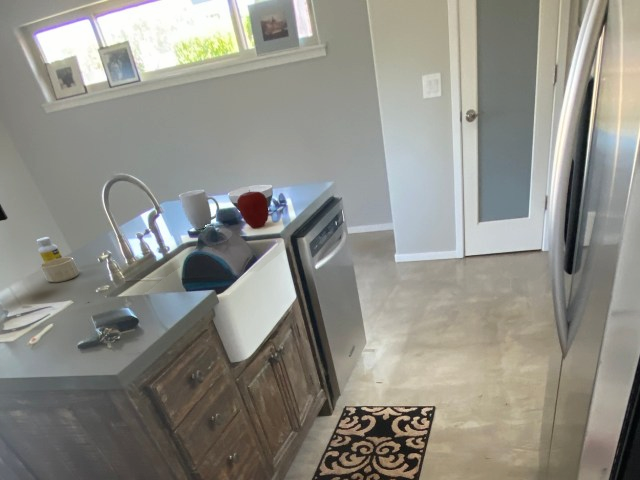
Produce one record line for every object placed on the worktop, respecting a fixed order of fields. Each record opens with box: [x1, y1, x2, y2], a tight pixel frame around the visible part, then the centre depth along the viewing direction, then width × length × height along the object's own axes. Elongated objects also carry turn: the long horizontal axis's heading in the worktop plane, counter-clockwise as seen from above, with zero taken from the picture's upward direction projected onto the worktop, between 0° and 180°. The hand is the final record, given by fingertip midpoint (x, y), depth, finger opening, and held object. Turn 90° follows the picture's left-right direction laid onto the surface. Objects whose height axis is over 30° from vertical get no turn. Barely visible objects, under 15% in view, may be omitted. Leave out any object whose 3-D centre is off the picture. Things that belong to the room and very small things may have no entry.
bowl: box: [227, 184, 274, 212], centre depth 226 cm, size 20×20×10 cm
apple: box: [237, 191, 269, 229], centre depth 207 cm, size 12×12×13 cm
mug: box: [178, 189, 220, 230], centre depth 220 cm, size 15×11×13 cm
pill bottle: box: [35, 236, 63, 263], centre depth 193 cm, size 6×6×12 cm
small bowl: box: [39, 256, 80, 284], centre depth 188 cm, size 11×11×6 cm
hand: (2, 219), depth 161 cm, fingers closed
